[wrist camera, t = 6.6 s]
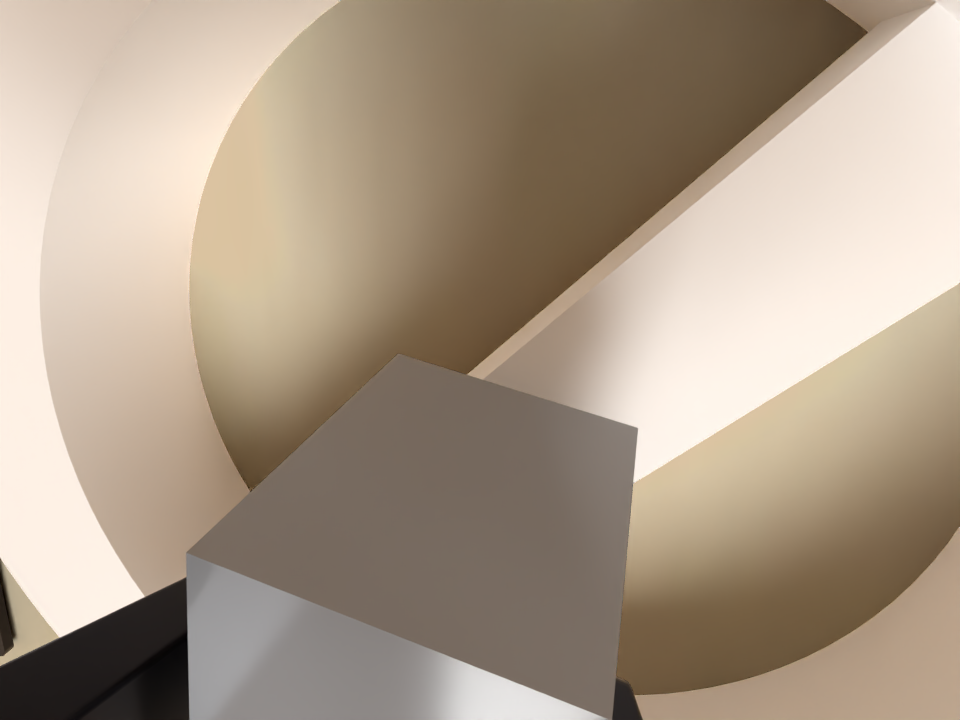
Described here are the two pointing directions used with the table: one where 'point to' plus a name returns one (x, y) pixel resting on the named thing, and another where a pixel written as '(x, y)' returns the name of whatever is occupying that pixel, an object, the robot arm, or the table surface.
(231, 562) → the grey cube block
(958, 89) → the ring with crossbar
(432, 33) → the table surface
